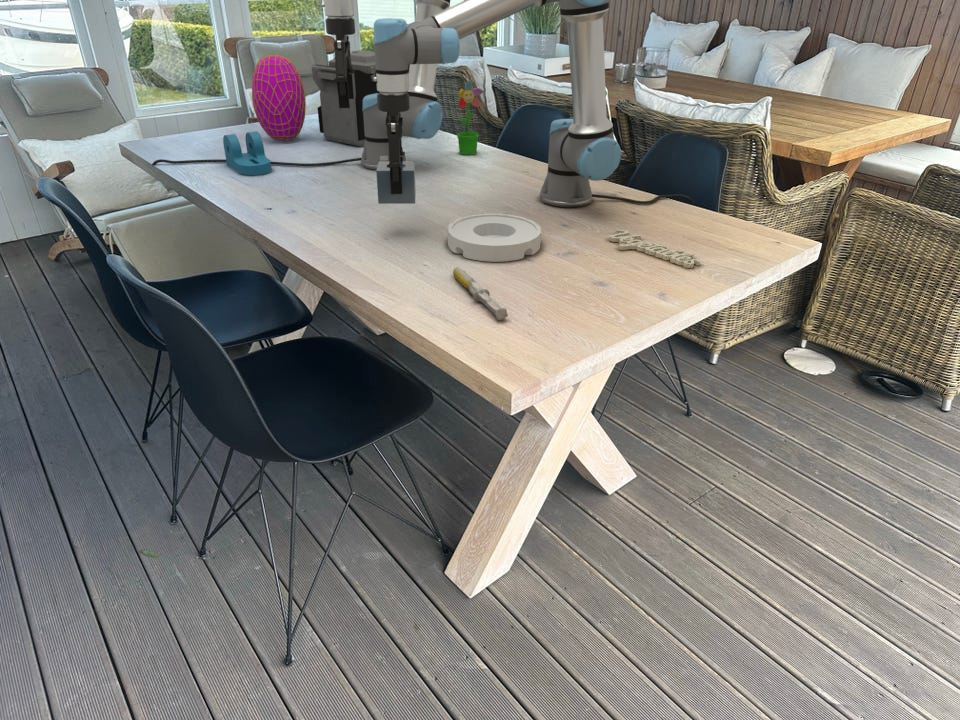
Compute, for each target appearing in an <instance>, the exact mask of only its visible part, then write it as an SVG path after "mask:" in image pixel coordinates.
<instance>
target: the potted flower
mask: <svg viewBox="0 0 960 720" xmlns="http://www.w3.org/2000/svg"><path fill="white" fill-rule="evenodd" d="M484 92H485V90H484V89H482V88H480V87H474V88H473V82H472V81H471V80H468V81H467V82H466V83H464V88H460V89H459V92H458V95H457V96H458V97H459V98H460V99H459V100H458V106H459V108H460V109H461V110H462V109H464V108H465V107H466V112H467V113H466V118H463V119H461V120H460V123H461V124H462V125H463V126H464V125H465V126H466V131H461V132H458V133H457V134H456V138H457V142H458V150H459V153H460V155H461V154H462V155H465V156H466V155H469V156H470V155H475V154H477V150H478V143H479V142H478V140H479V139H480V138H479V136H480V134H479V133H478V132H475V131H470V119H472V118H473V117H474V115H475V114H474V113H470V105H472V106H473V107H475V108H479V107H482V106H483V104H482V102H481V101H480V99H478V98H477V97H478V96H480V95H482V94H483V93H484Z"/></svg>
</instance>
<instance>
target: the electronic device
mask: <svg viewBox="0 0 960 720" xmlns="http://www.w3.org/2000/svg"><path fill="white" fill-rule="evenodd" d="M350 56H351V64H352V69H354V73H350V74H352V80H353V93H354V99H349V104H350V108H339V99H338V88H337V82H334V78H336V66H335V57H334V58H332V59H330V60H328V65H324V64H311V75H312V79H313V81H314V83H315V85H316V87H318V89H319V91H320V92H319V100H320V106H317V117H318V127H319V133H320V134H323V137H324V139H325V140H328V141H332V142H337V143H342V144H346V145H351V146H356V147H364V145H365V132H364V119H363V111H362V109H363V98H364V97H365V96H367V95H371V94H376V93H380V92H379V91H377V81H376V82H375V81H374V80H373V79H374V77H377V76H376V67H375V52H374V51H369V50H362V49H359V50H352V51H350ZM409 67H410V64H409V65H408V73H409Z"/></svg>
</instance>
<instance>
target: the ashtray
mask: <svg viewBox="0 0 960 720" xmlns="http://www.w3.org/2000/svg"><path fill="white" fill-rule="evenodd" d="M541 243H542V227H541V226H540V225H539V224H538V223H537V222H535V221H534V220H531V219H529V218H526V217H523V216H520V215H514V214H508V213H478V214H471V215H466V216H462V217H459V218H457V219H454V220H453V221H451V222H450V223H449V225H448V226H447V247H448V249H449V250H450V251H451V252H452V253H454V254H462V256H463V258H465V259H468V260H474V261H479V262H491V263H499V262H500V263H501V262H503V263H504V262H514V261H519V260H522V259H523V260H524V258H525V256H533V255H535V254H536V253H537V252H539V251H540V248H541Z"/></svg>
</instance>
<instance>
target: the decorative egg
mask: <svg viewBox="0 0 960 720" xmlns="http://www.w3.org/2000/svg"><path fill="white" fill-rule="evenodd" d="M253 70H254V71H253V73H252V77H251V101H252V107H253V110H254V114H255V116H256V118H257V121H258V123H259V125H260V127H261V128H262V130H263V131H264V133H266V135H267V136H268V137H270V138H271V139H273V140H275V141H282V142H286V141H291V140H293V139H296V138H297V137H298V136H299V134H301V131H302V129H303V127H304V123H305V118H306V104H307V103H306V102H307V101H306V99H307V97H306V93H305V88H304V84H303V81H302V77H301V75H300V73H299V71H298V69H297V67H296V66H295V65H294V63H293V62H292V61H291V60H290V59H288V58H287V57H285V56H282V55H280V54H268V55H265V56H262V57H261V58H260V59H259V60H258V61H257V62H256V65H255V68H254V69H253Z"/></svg>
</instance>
